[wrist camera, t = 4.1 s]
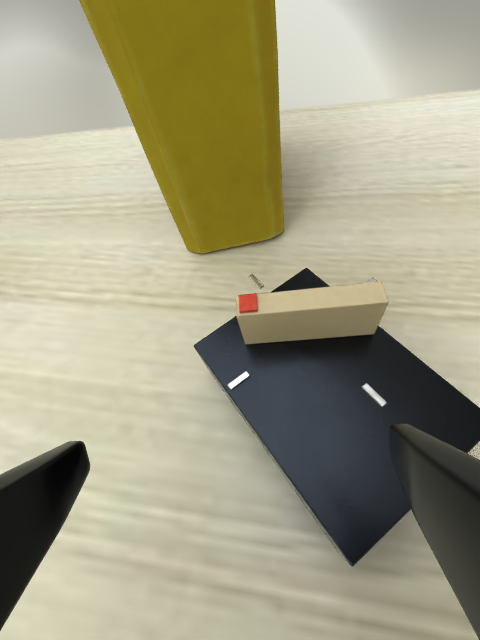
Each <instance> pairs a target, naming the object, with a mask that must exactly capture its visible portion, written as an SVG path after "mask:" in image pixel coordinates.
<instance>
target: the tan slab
mask: <svg viewBox="0 0 480 640" xmlns="http://www.w3.org/2000/svg"><path fill="white" fill-rule="evenodd" d="M388 303H389V301H388V298H387V295H386V292H385V289H384V286H383V283H382V282H372V283H362V284H352V285H342V286H332V287H322V288H312V289H302V290H292V291H282V292H272V293H262V294H256V293H255V294H245V295H239V296H237V297H236V316H237V319H238V322H239V326H240V329H241V332H242V335H243V338H244V342H245V344H256V343H269V342H282V341H294V340H307V339H320V338H332V337H345V336H358V335H370V334H374V333H375V331H376V329H377V327H378V324H379V322H380V320H381V318H382V316H383V313H384V311H385V309H386V307H387V305H388Z"/></svg>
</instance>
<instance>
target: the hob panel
mask: <svg viewBox="0 0 480 640" xmlns="http://www.w3.org/2000/svg"><path fill="white" fill-rule="evenodd" d="M249 278H250V279H251V280H252V281H253V282H254V283H255V284H256V285H257V286H258V287H259V288H260V289H261V288H262V287H263V286H264V285H263V284H262V283H261V282H260V281H259V280H258V279H257V278H256V277H255V276H254V275H253V274H252V275H250V276H249ZM376 281H377V280H376V279H374V278H373V277H372V278H371V279H370V280H368V281H367V282H366V283H372V282H376ZM322 287H330V286H329V285H327V284H326V283H325V282H324V281H322V280H321V279H320V278H319V277H318V276H316V275H315V274H314V273H313V272H311V271H310V270H309V269H308V268H305V269H304V270H302V271H301V272H299V273H298V274H296V275H295V276H293V277H292V278H291V279H289V280H288V281H286V282H285V283H283V284H282V285H280V286H279V287H278V288H276V289H275V290H273V291H272V292H282V291H292V290H302V289H312V288H322ZM272 292H270V293H272ZM194 348H195V349H196V351H197V352H198V354H199V355H200V357H201V358H202V360H203V362H204V363H205V365H206V366H207V368H208V369H209V371H210V372H211V374H212V375H213V377H214V378H215V379H216V381H217V382H218V384H219V385H220V386H221V388H222V389H223V391H224V392H225V393H226V395H227V396H228V398H229V399H230V400H231V402H232V403H233V405H234V406H235V407H236V409H237V410H238V412H239V413H240V414H241V416H242V417H243V419H244V420H245V421H246V423H247V424H248V426H249V427H250V428H251V430H252V431H253V433H254V434H255V436H256V437H257V438H258V440H259V441H260V443H261V444H262V445H263V447H264V448H265V450H266V451H267V452H268V454H269V455H270V457H271V458H272V459H273V461H274V462H275V464H276V465H277V466H278V468H279V469H280V471H281V472H282V473H283V475H284V476H285V478H286V479H287V480H288V482H289V483H290V485H291V486H292V487H293V489H294V490H295V492H296V493H297V494H298V496H299V497H300V499H301V500H302V501H303V503H304V504H305V506H306V507H307V508H308V510H309V511H310V513H311V514H312V515H313V517H314V518H315V520H316V521H317V523H318V524H319V525H320V527H321V528H322V530H323V531H324V532H325V534H326V535H327V537H328V538H329V539H330V541H331V542H332V544H333V545H334V546H335V548H336V549H337V551H338V552H339V553H340V554H341V555H342V556H343V557H344V559H345V560H346V561H347V562H348V563H349V564H350V565H351V566H354V565H355V564H356V563H357V562H358V561H359V560H360V559H361V558H362V557H363V556H364V555H365V554H366V553H367V552H368V551H369V550H370V549H371V548H372V547H373V546H374V545H375V544H376V543H377V542H378V541H379V540H380V539H381V538H382V537H383V536H384V535H385V534H386V533H387V532H388V531H389V530H391V529H392V528H393V527H394V526H395V525H396V524H397V523H398V522H399V521H400V520H401V519H402V518H403V517H404V516H405V515H406V514H407V513H408V512H409V511H410V510H411V507H410V504H409V502H408V500H407V497H406V495H405V492H404V490H403V487H402V485H401V482H400V480H399V477H398V475H397V472H396V470H395V467H394V465H393V462H392V460H391V456H390V442H389V428H390V425H391V424H401V423H406V424H409V425H411V426H413V427H415V428H417V429H419V430H421V431H423V432H425V433H427V434H429V435H431V436H433V437H435V438H437V439H439V440H441V441H443V442H445V443H447V444H449V445H451V446H453V447H455V448H457V449H459V450H461V451H463V452H465V453H468V452H469V451H470V450H471V449H472V448H473V447H474V446H475V445H476V444H477V443H478V442H479V441H480V408H479V407H478V406H477V405H475V404H474V403H473V402H472V401H470V400H469V399H468V398H467V397H465V396H464V395H463V394H462V393H461V392H459V391H458V390H457V389H456V388H454V387H453V386H452V385H451V384H449V383H448V382H447V381H446V380H445V379H443V378H442V377H441V376H440V375H438V374H437V373H436V372H435V371H433V370H432V369H431V368H430V367H429V366H427V365H426V364H425V363H424V362H422V361H421V360H420V359H419V358H417V357H416V356H415V355H414V354H412V353H411V352H410V351H409V350H408V349H406V348H405V347H404V346H403V345H401V344H400V343H399V342H398V341H396V340H395V339H394V338H393V337H392V336H390V335H389V334H388V333H387V332H385V331H384V330H383V329H382V328H380V327H379V326H378V327H377V329H376V331H375V333H374V334H370V335H358V336H345V337H332V338H320V339H307V340H294V341H282V342H269V343H256V344H245V342H244V338H243V335H242V332H241V329H240V326H239V322H238V319H237V316H236V317H234V318H233V319H231V320H230V321H228V322H227V323H225V324H224V325H223V326H221V327H220V328H218V329H217V330H215V331H214V332H212V333H211V334H209V335H208V336H207V337H205V338H204V339H202V340H201V341H199V342H198V343H196V344H195V345H194Z"/></svg>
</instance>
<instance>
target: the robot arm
mask: <svg viewBox="0 0 480 640" xmlns="http://www.w3.org/2000/svg"><path fill="white" fill-rule="evenodd" d="M389 442H390V456H391V460H392V462H393V465H394V467H395V470H396V472H397V475H398V477H399V480H400V482H401V485H402V487H403V490H404V492H405V495H406V497H407V500H408V502H409V504H410V507H411V509H412V512H413V514H414V516H415V518H416V520H417V522H418V524H419V526H420V528H421V530H422V532H423V534H424V536H425V538H426V540H427V542H428V544H429V545H430V547H431V549H432V551H433V553H434V555H435V557H436V559H437V561H438V563H439V564H440V566H441V568H442V570H443V572H444V574H445V576H446V578H447V580H448V581H449V583H450V585H451V587H452V589H453V591H454V593H455V595H456V597H457V598H458V600H459V602H460V604H461V606H462V608H463V610H464V612H465V614H466V616H467V617H468V619H469V621H470V623H471V625H472V627H473V629H474V631H475V633H476V634H477V636H478V638H479V640H480V460H479V459H477V458H475V457H473V456H471V455H469V454H467V453H465V452H463V451H461V450H459V449H457V448H455V447H453V446H451V445H449V444H447V443H445V442H443V441H441V440H439V439H437V438H435V437H433V436H431V435H429V434H427V433H425V432H423V431H421V430H419V429H417V428H415V427H413V426H411V425H409V424H406V423H401V424H391V425H390V428H389ZM89 470H90V462H89V458H88V454H87V451H86V447H85V444H84V443H83V442H82V441H70V442H67V443H65V444H63V445H61V446H59V447H56V448H54V449H52V450H50V451H48V452H46V453H44V454H42V455H40V456H38V457H36V458H34V459H32V460H30V461H28V462H25V463H23V464H21V465H19V466H17V467H15V468H13V469H11V470H9V471H7V472H5V473H3V474H1V475H0V631H1V629H2V627H3V625H4V624H5V622H6V620H7V619H8V617H9V615H10V614H11V612H12V610H13V609H14V607H15V605H16V604H17V602H18V600H19V598H20V597H21V595H22V593H23V592H24V590H25V588H26V587H27V585H28V583H29V582H30V580H31V578H32V577H33V575H34V573H35V572H36V570H37V568H38V566H39V565H40V563H41V561H42V560H43V558H44V556H45V555H46V553H47V551H48V550H49V548H50V546H51V545H52V543H53V541H54V540H55V538H56V536H57V534H58V533H59V531H60V529H61V528H62V526H63V524H64V522H65V520H66V518H67V516H68V514H69V512H70V510H71V508H72V506H73V504H74V502H75V500H76V498H77V496H78V494H79V492H80V490H81V488H82V486H83V484H84V482H85V480H86V477H87V475H88V473H89Z"/></svg>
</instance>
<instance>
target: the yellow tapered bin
mask: <svg viewBox="0 0 480 640" xmlns="http://www.w3.org/2000/svg"><path fill="white" fill-rule="evenodd" d="M80 3H81V5H82V8H83V10H84V12H85V14H86V17H87V19H88V21H89V23H90V26H91V28H92V30H93V32H94V35H95V37H96V39H97V41H98V43H99V46H100V48H101V50H102V52H103V55H104V57H105V59H106V61H107V64H108V66H109V68H110V70H111V72H112V75H113V77H114V79H115V82H116V84H117V86H118V88H119V91H120V93H121V95H122V98H123V100H124V102H125V105H126V108H127V110H128V112H129V115H130V117H131V120H132V122H133V125H134V127H135V130H136V132H137V134H138V137H139V139H140V142H141V144H142V147H143V149H144V151H145V154H146V156H147V158H148V161H149V163H150V165H151V168H152V170H153V172H154V175H155V177H156V179H157V182H158V184H159V186H160V189H161V191H162V193H163V196H164V198H165V200H166V203H167V205H168V207H169V210H170V212H171V214H172V216H173V218H174V221H175V223H176V225H177V227H178V229H179V232H180V234H181V236H182V238H183V240H184V243H185V245H186V247H187V249H188V250H189V251H192V252H197V253H201V254H203V253H207V252H212V251H217V250H221V249H226V248H231V247H235V246H240V245H245V244H250V243H254V242H259V241H264V240H268V239H271V238H273V237H275V236H277V235H278V234H280V233H282V232H283V231H284V223H283V200H282V176H281V148H280V120H279V87H278V86H279V85H278V50H277V31H276V14H275V13H276V12H275V0H80Z"/></svg>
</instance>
